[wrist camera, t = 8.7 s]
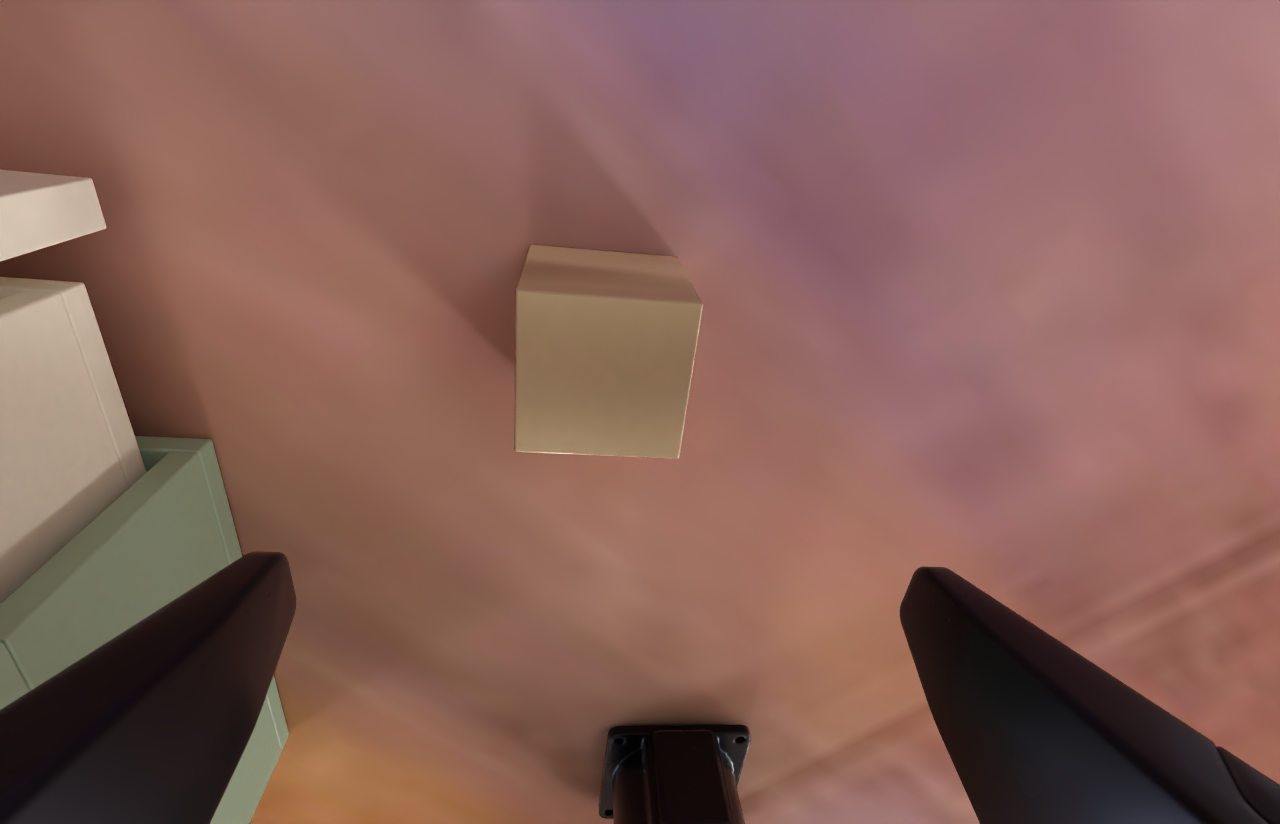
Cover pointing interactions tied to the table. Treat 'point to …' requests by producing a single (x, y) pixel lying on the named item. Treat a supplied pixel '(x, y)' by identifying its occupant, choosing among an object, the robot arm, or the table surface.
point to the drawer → (53, 385)
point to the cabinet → (138, 590)
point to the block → (603, 352)
